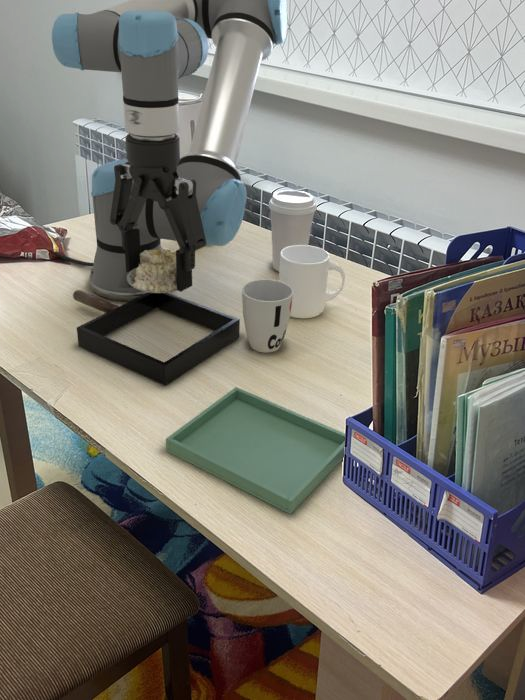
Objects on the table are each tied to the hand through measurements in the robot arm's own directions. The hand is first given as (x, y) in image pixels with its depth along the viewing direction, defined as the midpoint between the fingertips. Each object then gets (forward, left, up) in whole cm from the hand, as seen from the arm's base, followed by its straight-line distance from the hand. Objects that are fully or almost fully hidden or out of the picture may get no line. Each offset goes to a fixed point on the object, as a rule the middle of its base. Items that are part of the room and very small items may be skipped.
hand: (158, 278), depth 108 cm
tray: (+29, -13, -11) cm, 34 cm away
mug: (+13, +26, -11) cm, 31 cm away
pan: (-5, 0, -11) cm, 12 cm away
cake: (0, 0, 0) cm, 0 cm away
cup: (+14, +10, -11) cm, 21 cm away
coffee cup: (0, +39, -11) cm, 40 cm away
